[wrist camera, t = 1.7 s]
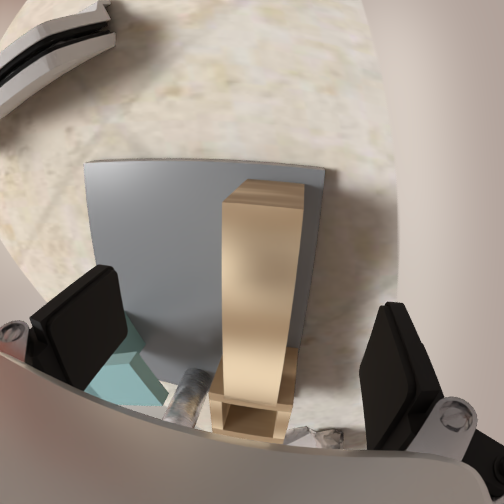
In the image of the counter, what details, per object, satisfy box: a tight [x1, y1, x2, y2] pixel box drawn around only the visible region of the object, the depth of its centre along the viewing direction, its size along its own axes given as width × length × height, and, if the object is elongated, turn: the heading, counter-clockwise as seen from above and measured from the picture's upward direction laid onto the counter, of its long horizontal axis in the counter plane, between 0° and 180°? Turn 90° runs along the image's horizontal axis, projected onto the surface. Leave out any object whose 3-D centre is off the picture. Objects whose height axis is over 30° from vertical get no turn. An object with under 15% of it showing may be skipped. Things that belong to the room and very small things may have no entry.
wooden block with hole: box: [209, 179, 304, 444], centre depth 20 cm, size 19×6×6 cm, turn 177°
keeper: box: [84, 311, 169, 406], centre depth 22 cm, size 4×8×8 cm, turn 112°
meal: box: [247, 426, 343, 449], centre depth 26 cm, size 15×4×13 cm, turn 113°
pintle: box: [162, 368, 212, 428], centre depth 24 cm, size 3×3×8 cm
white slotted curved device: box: [0, 0, 116, 119], centre depth 15 cm, size 17×5×10 cm, turn 100°
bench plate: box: [84, 159, 325, 392], centre depth 24 cm, size 22×18×1 cm
